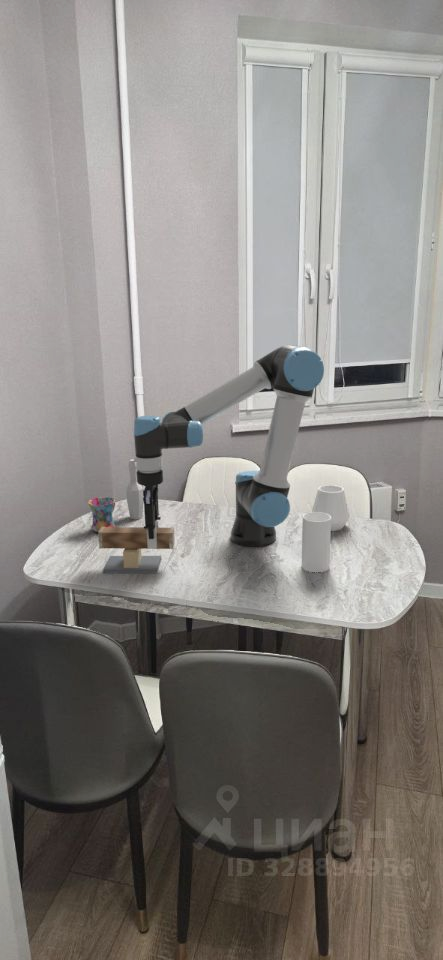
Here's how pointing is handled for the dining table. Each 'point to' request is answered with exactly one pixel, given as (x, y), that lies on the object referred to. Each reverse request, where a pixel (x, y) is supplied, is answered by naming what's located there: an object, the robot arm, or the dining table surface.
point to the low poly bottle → (134, 493)
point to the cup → (316, 542)
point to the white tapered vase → (332, 505)
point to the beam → (134, 537)
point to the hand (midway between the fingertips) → (153, 544)
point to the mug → (102, 512)
